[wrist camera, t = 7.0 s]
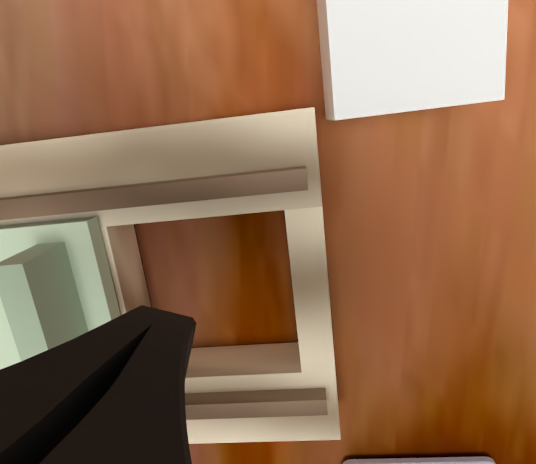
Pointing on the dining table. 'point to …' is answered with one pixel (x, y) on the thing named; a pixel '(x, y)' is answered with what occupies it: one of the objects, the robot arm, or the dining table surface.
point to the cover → (51, 285)
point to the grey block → (410, 54)
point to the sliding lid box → (200, 206)
